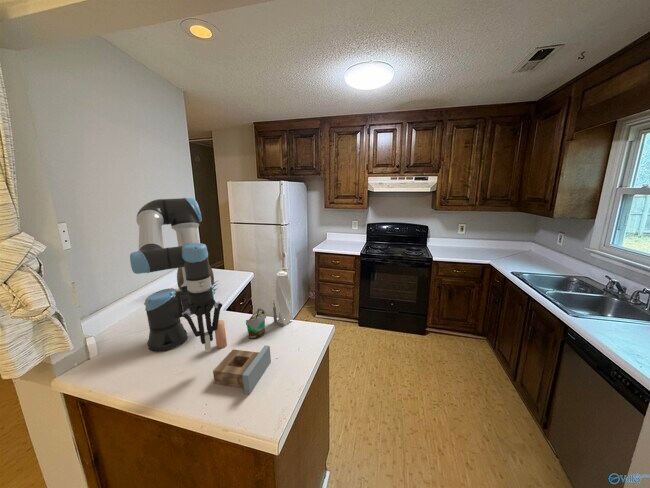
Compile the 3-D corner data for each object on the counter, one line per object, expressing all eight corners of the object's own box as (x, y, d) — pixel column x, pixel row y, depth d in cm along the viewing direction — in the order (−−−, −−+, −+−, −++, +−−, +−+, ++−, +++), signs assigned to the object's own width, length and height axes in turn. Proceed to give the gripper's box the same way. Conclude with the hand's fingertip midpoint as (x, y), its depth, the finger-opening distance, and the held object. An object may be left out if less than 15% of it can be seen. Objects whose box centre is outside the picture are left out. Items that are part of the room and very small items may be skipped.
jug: (180, 289, 177) (174, 247, 171) (214, 284, 186) (209, 243, 180) (177, 303, 155) (170, 255, 149) (216, 296, 164) (210, 250, 158)
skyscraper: (285, 316, 136) (282, 265, 130) (296, 321, 131) (293, 268, 125) (273, 323, 130) (268, 269, 124) (283, 328, 125) (280, 272, 119)
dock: (188, 387, 88) (185, 366, 86) (217, 357, 103) (215, 339, 102) (250, 397, 83) (248, 375, 81) (271, 364, 98) (269, 345, 96)
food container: (260, 342, 113) (258, 321, 111) (247, 341, 114) (245, 320, 112) (271, 327, 125) (270, 308, 123) (259, 326, 126) (258, 307, 124)
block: (214, 383, 88) (212, 370, 87) (234, 361, 99) (232, 349, 98) (246, 388, 85) (245, 375, 84) (263, 364, 96) (262, 352, 95)
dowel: (215, 350, 108) (211, 324, 105) (220, 345, 112) (217, 319, 109) (223, 351, 107) (220, 325, 105) (229, 346, 111) (226, 320, 108)
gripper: (180, 298, 81) (190, 363, 87) (223, 287, 89) (229, 347, 95) (176, 290, 87) (186, 352, 93) (216, 281, 95) (223, 338, 100)
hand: (208, 349), depth 94 cm, fingers closed
